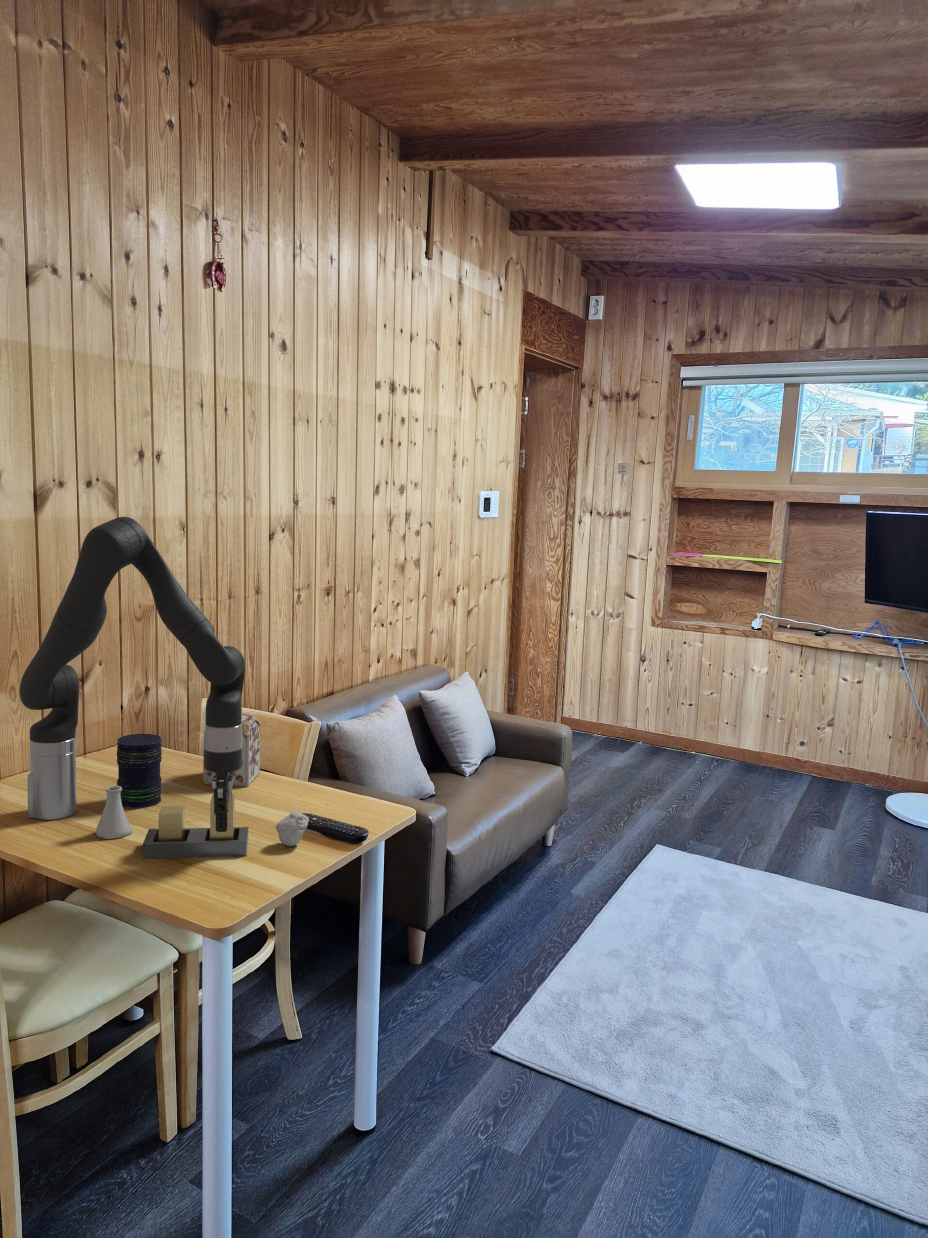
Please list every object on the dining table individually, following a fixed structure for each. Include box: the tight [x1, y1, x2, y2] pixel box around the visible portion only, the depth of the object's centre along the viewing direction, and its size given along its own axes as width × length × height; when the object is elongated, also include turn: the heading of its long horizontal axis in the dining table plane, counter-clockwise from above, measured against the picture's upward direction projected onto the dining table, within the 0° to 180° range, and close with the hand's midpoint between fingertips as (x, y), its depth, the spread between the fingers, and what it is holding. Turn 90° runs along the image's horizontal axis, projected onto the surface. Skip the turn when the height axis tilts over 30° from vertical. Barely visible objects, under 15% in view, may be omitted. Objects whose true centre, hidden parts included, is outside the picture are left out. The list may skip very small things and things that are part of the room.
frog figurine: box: [275, 811, 310, 847], centre depth 188 cm, size 6×7×7 cm
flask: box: [94, 785, 133, 840], centre depth 189 cm, size 7×7×10 cm
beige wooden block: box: [209, 793, 236, 840], centre depth 183 cm, size 4×4×8 cm
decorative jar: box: [202, 710, 261, 788], centre depth 228 cm, size 12×12×18 cm
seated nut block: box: [158, 805, 186, 842], centre depth 182 cm, size 4×4×8 cm
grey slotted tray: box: [142, 826, 249, 859], centre depth 183 cm, size 20×8×3 cm, turn 101°
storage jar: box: [116, 733, 163, 809], centre depth 209 cm, size 10×10×15 cm
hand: (222, 826), depth 184 cm, fingers closed on beige wooden block, 4 cm apart
